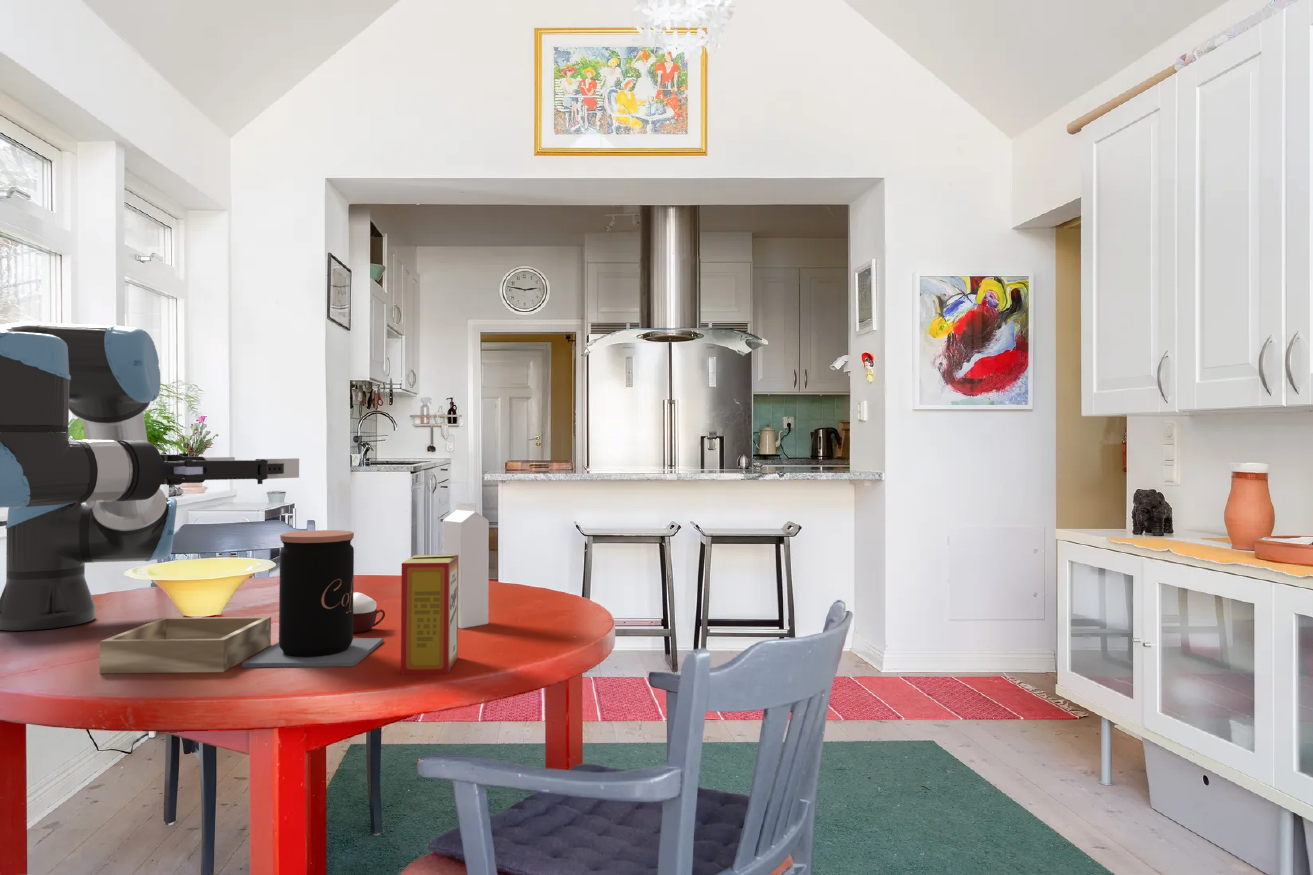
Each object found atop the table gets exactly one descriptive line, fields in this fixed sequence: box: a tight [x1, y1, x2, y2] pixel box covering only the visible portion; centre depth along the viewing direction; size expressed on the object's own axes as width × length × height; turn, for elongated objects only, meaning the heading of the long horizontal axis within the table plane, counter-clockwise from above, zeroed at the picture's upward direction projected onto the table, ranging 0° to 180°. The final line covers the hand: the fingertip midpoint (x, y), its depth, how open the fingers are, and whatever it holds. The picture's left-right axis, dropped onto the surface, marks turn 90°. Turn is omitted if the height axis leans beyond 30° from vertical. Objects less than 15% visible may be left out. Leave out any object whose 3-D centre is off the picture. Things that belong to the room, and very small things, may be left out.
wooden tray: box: [99, 616, 272, 674], centre depth 130 cm, size 17×17×4 cm
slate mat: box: [241, 637, 384, 668], centre depth 133 cm, size 16×16×1 cm
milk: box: [442, 501, 490, 629], centre depth 156 cm, size 6×6×22 cm
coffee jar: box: [278, 529, 355, 657], centre depth 133 cm, size 11×11×18 cm
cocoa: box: [353, 592, 386, 634], centre depth 150 cm, size 10×6×12 cm, turn 94°
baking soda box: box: [400, 554, 459, 676], centre depth 126 cm, size 10×6×16 cm
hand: (264, 467), depth 124 cm, fingers open, 13 cm apart
